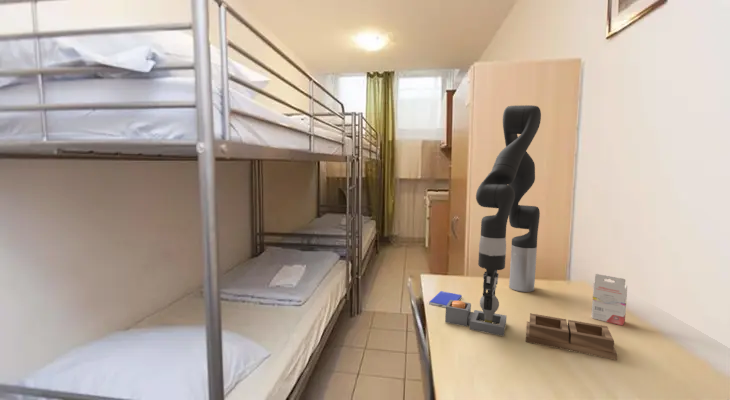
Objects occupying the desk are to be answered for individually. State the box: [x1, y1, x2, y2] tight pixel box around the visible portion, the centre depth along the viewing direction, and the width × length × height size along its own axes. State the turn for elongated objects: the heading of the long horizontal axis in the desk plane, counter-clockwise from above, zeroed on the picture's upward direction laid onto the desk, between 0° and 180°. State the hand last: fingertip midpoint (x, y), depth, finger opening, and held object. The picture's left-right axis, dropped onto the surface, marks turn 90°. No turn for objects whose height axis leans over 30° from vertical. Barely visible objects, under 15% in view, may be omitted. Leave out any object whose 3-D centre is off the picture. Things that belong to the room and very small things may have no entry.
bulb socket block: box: [444, 300, 507, 337], centre depth 111 cm, size 10×17×5 cm, turn 65°
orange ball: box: [452, 300, 465, 309], centre depth 113 cm, size 4×4×4 cm
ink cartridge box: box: [591, 273, 628, 327], centre depth 115 cm, size 9×5×15 cm, turn 47°
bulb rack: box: [525, 313, 618, 361], centre depth 100 cm, size 11×21×4 cm, turn 65°
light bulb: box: [479, 294, 500, 323], centre depth 109 cm, size 6×5×10 cm
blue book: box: [428, 290, 463, 308], centre depth 130 cm, size 2×8×12 cm
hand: (489, 304), depth 109 cm, fingers open, 8 cm apart
